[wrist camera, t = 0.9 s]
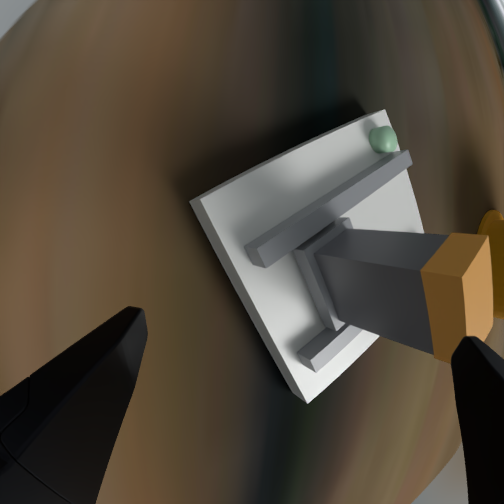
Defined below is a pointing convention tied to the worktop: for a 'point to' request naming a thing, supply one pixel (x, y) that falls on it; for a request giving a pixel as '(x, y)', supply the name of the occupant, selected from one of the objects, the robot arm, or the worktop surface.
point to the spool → (495, 256)
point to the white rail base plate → (306, 237)
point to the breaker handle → (401, 284)
